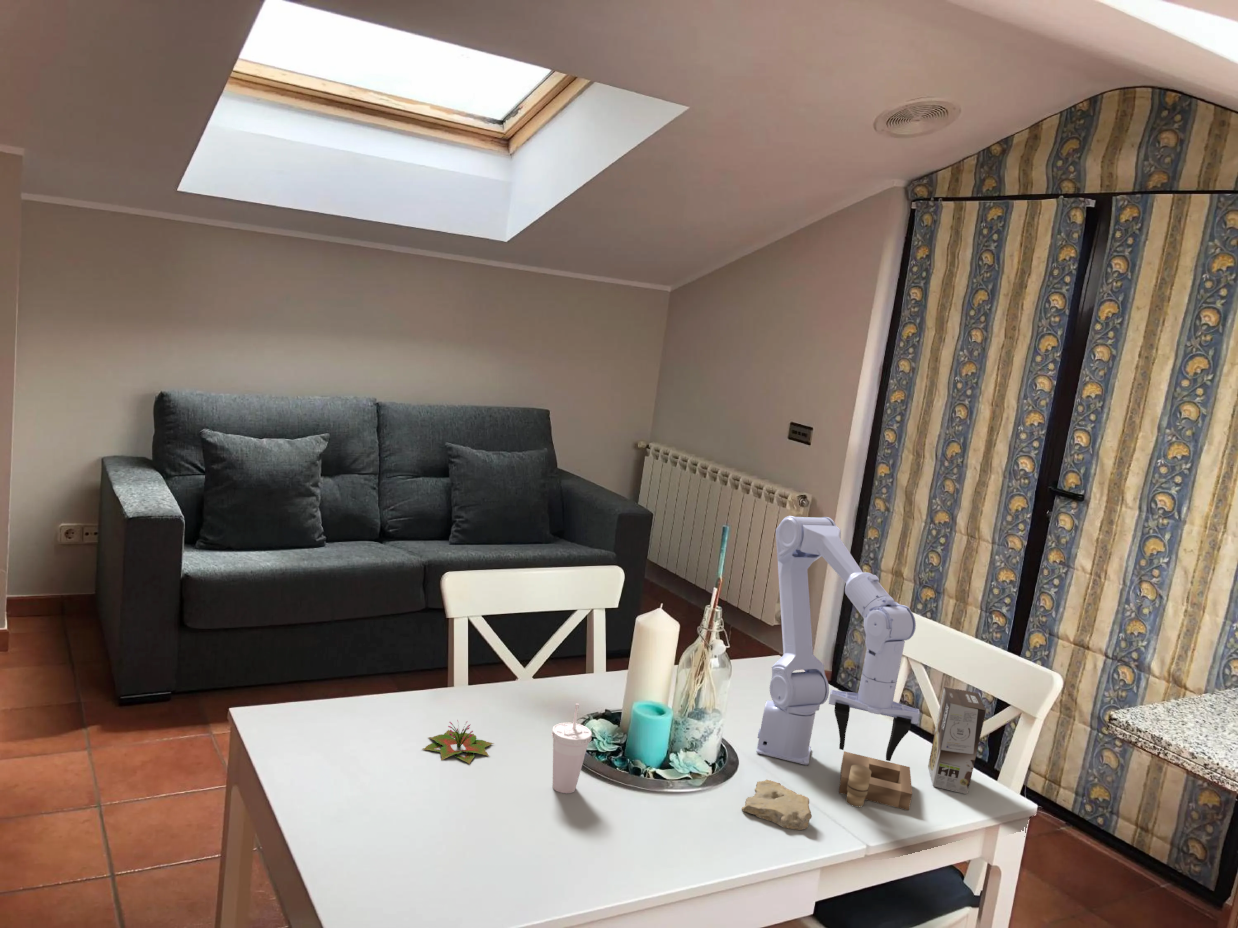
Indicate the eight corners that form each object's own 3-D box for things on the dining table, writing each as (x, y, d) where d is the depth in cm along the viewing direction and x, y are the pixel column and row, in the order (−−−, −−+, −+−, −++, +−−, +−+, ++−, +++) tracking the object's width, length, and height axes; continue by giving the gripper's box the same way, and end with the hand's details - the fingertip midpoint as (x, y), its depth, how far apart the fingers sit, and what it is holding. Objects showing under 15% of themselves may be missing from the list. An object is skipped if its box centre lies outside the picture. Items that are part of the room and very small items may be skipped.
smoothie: (590, 786, 158) (602, 704, 156) (572, 801, 152) (584, 717, 150) (556, 773, 161) (567, 693, 158) (536, 788, 155) (548, 705, 153)
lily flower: (473, 774, 157) (476, 747, 157) (408, 753, 161) (411, 727, 160) (505, 746, 169) (509, 721, 168) (444, 727, 172) (447, 703, 172)
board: (839, 792, 168) (842, 776, 168) (840, 766, 179) (843, 751, 178) (908, 810, 166) (912, 793, 165) (906, 782, 176) (909, 766, 176)
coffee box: (969, 795, 175) (987, 710, 172) (932, 786, 176) (949, 702, 174) (962, 773, 184) (979, 692, 181) (926, 765, 185) (943, 684, 182)
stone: (722, 789, 162) (772, 773, 166) (723, 808, 162) (774, 792, 166) (767, 822, 150) (820, 804, 154) (768, 844, 151) (821, 825, 155)
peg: (843, 804, 165) (850, 771, 164) (844, 794, 168) (850, 762, 167) (865, 809, 164) (872, 776, 163) (865, 800, 167) (871, 767, 166)
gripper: (834, 674, 160) (820, 751, 162) (925, 694, 157) (909, 773, 159) (836, 660, 167) (822, 735, 169) (923, 679, 164) (908, 755, 166)
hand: (864, 752), depth 164 cm, fingers open, 7 cm apart
